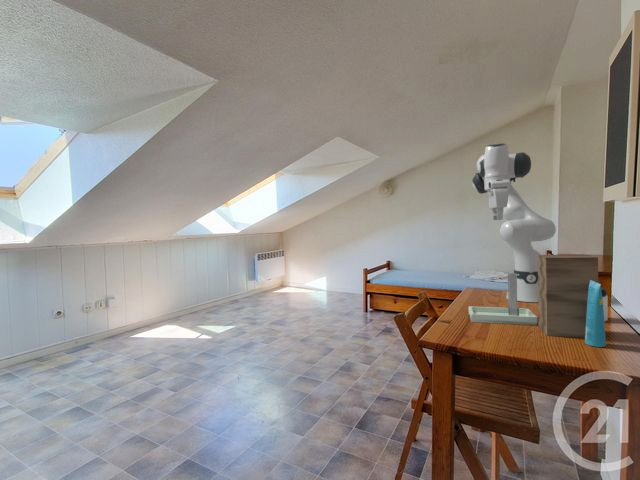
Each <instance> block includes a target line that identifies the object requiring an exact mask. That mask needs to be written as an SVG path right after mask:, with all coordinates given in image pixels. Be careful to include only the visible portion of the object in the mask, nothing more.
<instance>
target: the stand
mask: <svg viewBox="0 0 640 480" xmlns="http://www.w3.org/2000/svg"><path fill="white" fill-rule="evenodd" d="M590 280H592V281H594V282H596V283H599V256H593V255H589V254H541V255H538V302H537V305H538V306H537V307H538V308H537V309H538V310H537V311H538V314H537V315H538V316H537V319H538V328H539V329H540V330H541V331H542V332H543V334H545V335H546V336H549V337H550V336H551V337H564V338H565V337H566V338H579V339H580V338H581V339H585V332H586V314H587V300H588V290H589V284H590Z"/></svg>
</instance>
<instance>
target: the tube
mask: <svg viewBox="0 0 640 480" xmlns="http://www.w3.org/2000/svg"><path fill="white" fill-rule="evenodd" d="M601 285H602V284H601V283H599V282H598V283H596V282H594V281H592V280H590V284H589V290H588V300H587V314H586V332H585V338H584V343H585V345H588V346H591V347H596V348H604V347H606V346H607V345H606V340H607V339H606V324H605V322H606V321H605V322H604V309H603V299H602V292H601V287H602V286H601Z"/></svg>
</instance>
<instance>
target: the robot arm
mask: <svg viewBox="0 0 640 480" xmlns="http://www.w3.org/2000/svg"><path fill="white" fill-rule="evenodd" d="M531 168H532V160H531V157H530V155H528V154H527V153H526V152H523V151H522V152H517V153H509V148H508V145H507V144H506V143H496V144H489V145H486V147H484V154H482V155H480V157H478V159H477V161H476V169H477V171H478V172H475V173H474V174H475V175H474V176H473V178H472V181H471V182H472V187H473V189H474V190H475V191H476V192H478V193H479V194H480V195H482V194H486V193H487V194H488V209H489V210H491V213H492V220H493V221H501V220H503V219H504V218H505V219H506V220H507V221H504V222H503V223H501V225H500V228H499V235H500V237H501V239H502V240H503V241H505V242H506V243H507V244H508V245H509V246H510V248H511V250H512V253H513V260H514V270H513V273H515V274H517V302H525V303H526V302H527V303H538V255H542V254H541V252H539V251H538V250H536V249H534V248H533V246H532V242H543V241H547V240H551V239H552V238H553V237H554V236H555V234H556V232H557V231H556V230H557V228H556V227H557V226H556V225H555V222H554V221H552V220H550V219H548V218H545V217H543V216H541V215H539V214H538V213H537V212H536V211H534V210H532V208H530V207H529V206H528V205H527V204H526V202H525V201H524V199H523V197H521V195H520V194H519V193H518V191H517V190H516V189H515V187H514V186H513V185H512V182H513V183H516V179H518V178H524V177H526V176H527V175H528V174H529V173H530V172H531ZM503 217H504V218H503ZM506 300H508V291H507V292H506Z"/></svg>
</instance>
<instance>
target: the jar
mask: <svg viewBox="0 0 640 480" xmlns="http://www.w3.org/2000/svg"><path fill="white" fill-rule="evenodd" d="M600 287H601V292H602V299H603V309H604V322H607V321H608V320H609V317H608V316H609V312H608V311H609V309H608V308H609V307H608V305H609V303H608V302H609V301H608V300H609V299H608V297H609V296H608V295H607V294H608V293H607V288H606V287H602V286H600Z"/></svg>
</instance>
